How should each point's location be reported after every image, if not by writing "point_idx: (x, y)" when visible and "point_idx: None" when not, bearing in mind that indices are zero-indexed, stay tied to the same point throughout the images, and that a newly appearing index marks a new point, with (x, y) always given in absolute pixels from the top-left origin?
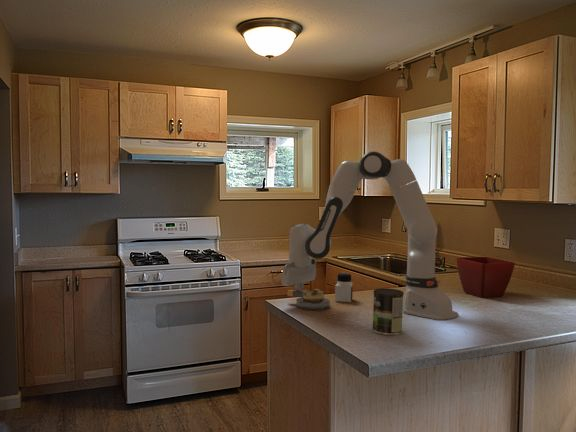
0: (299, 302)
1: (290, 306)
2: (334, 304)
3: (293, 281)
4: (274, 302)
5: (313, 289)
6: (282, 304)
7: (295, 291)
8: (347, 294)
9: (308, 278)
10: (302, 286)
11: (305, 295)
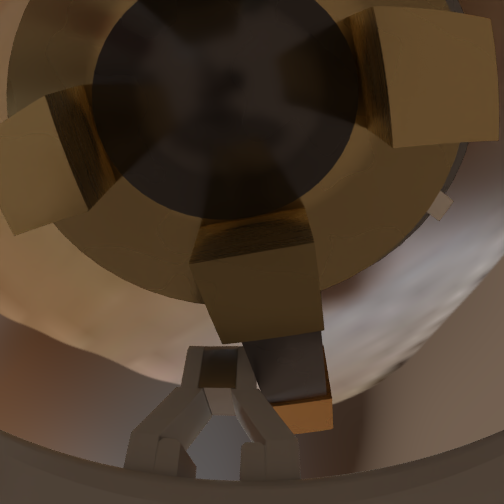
0: (458, 167)
1: (400, 251)
2: (8, 16)
3: (491, 494)
4: (345, 379)
5: (87, 210)
6: (370, 327)
7: (307, 384)
8: None
9: (21, 484)
10: (168, 420)
11: (452, 144)
